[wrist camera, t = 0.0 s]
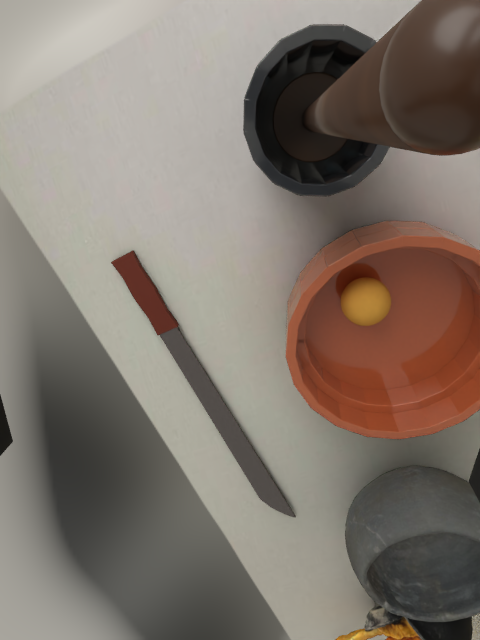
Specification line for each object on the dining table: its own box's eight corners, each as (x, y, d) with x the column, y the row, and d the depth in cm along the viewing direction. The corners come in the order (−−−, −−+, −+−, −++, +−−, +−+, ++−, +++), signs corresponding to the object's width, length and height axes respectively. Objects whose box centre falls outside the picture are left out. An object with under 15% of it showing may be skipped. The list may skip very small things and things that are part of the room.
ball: (340, 269, 36) (347, 285, 32) (389, 272, 35) (400, 288, 32) (335, 312, 37) (340, 332, 34) (381, 315, 37) (391, 335, 33)
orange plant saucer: (293, 215, 35) (294, 231, 30) (515, 223, 33) (559, 241, 28) (281, 391, 42) (280, 429, 37) (462, 404, 41) (488, 446, 35)
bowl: (396, 557, 51) (420, 651, 42) (312, 487, 47) (318, 572, 38) (510, 500, 45) (565, 593, 36) (424, 415, 42) (462, 495, 33)
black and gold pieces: (509, 630, 47) (410, 746, 48) (432, 548, 56) (350, 648, 58) (476, 625, 42) (367, 755, 44) (397, 536, 51) (309, 645, 53)
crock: (257, 54, 30) (245, 24, 21) (375, 55, 30) (414, 23, 21) (254, 176, 34) (242, 194, 25) (359, 179, 33) (386, 198, 24)
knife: (275, 518, 50) (275, 522, 49) (111, 261, 38) (109, 263, 38) (295, 513, 49) (295, 517, 48) (134, 249, 37) (132, 251, 37)
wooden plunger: (275, 75, 30) (159, -438, 3) (355, 76, 30) (1173, -538, 2) (271, 159, 32) (188, 330, 5) (345, 160, 32) (688, 360, 5)
